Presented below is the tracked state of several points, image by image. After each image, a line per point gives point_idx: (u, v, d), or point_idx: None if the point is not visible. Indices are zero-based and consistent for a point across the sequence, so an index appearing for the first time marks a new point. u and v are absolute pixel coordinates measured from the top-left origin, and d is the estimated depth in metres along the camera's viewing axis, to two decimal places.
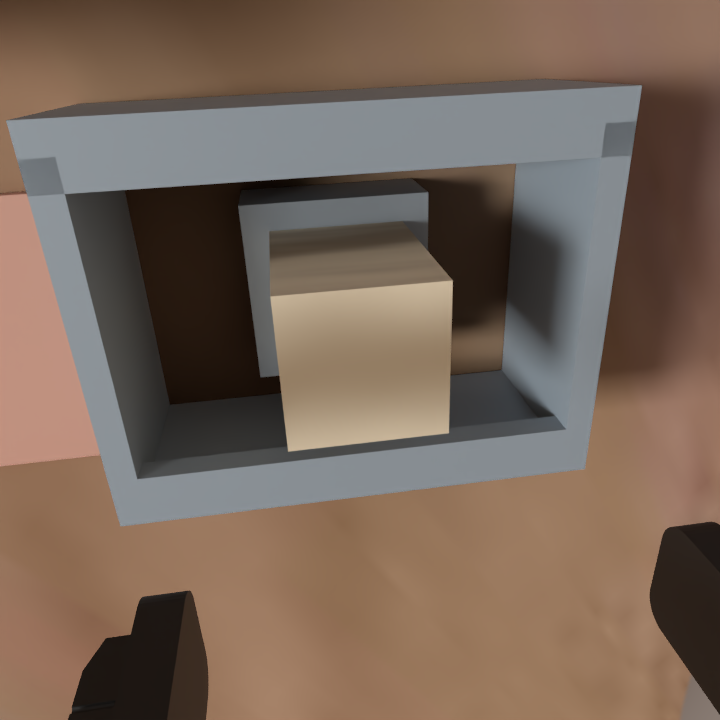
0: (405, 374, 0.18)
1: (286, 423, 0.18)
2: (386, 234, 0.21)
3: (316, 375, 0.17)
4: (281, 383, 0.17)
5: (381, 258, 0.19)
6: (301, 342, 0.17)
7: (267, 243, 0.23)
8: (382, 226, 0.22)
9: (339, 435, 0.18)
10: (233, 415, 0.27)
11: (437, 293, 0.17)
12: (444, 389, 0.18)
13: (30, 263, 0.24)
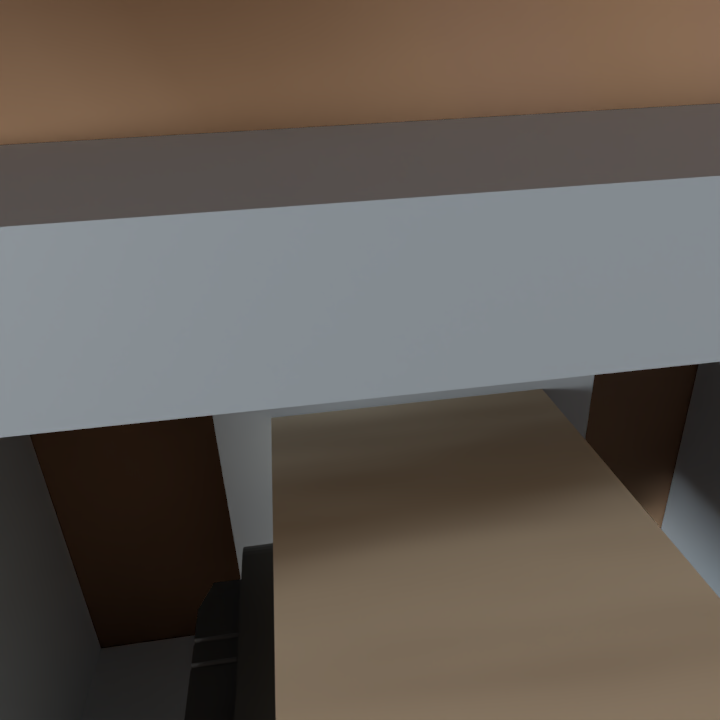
0: None
1: None
2: (529, 443, 0.10)
3: None
4: None
5: (569, 582, 0.07)
6: None
7: (267, 439, 0.11)
8: (508, 409, 0.11)
9: None
10: None
11: None
12: None
13: None
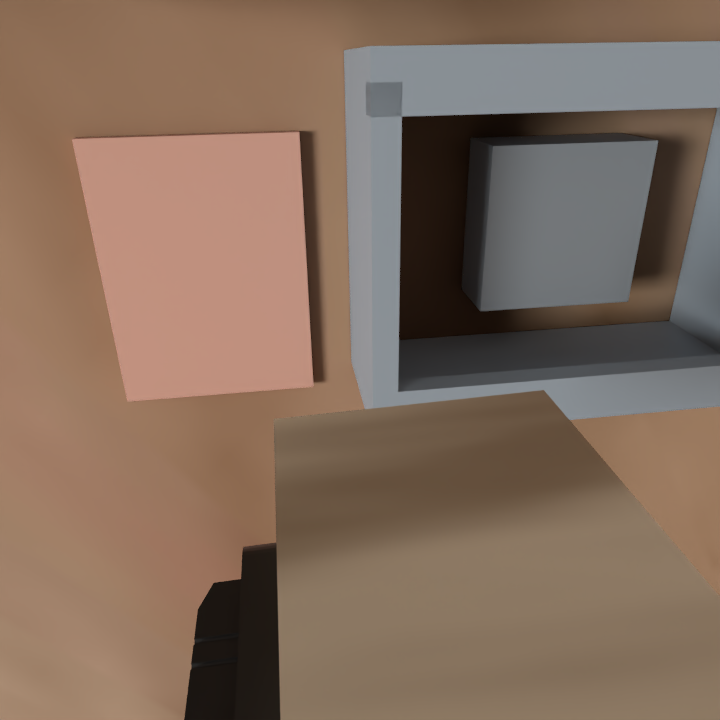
0: None
1: None
2: (531, 444, 0.10)
3: None
4: None
5: (571, 584, 0.07)
6: None
7: (511, 182, 0.25)
8: (510, 410, 0.11)
9: None
10: (437, 351, 0.29)
11: None
12: None
13: (278, 198, 0.26)
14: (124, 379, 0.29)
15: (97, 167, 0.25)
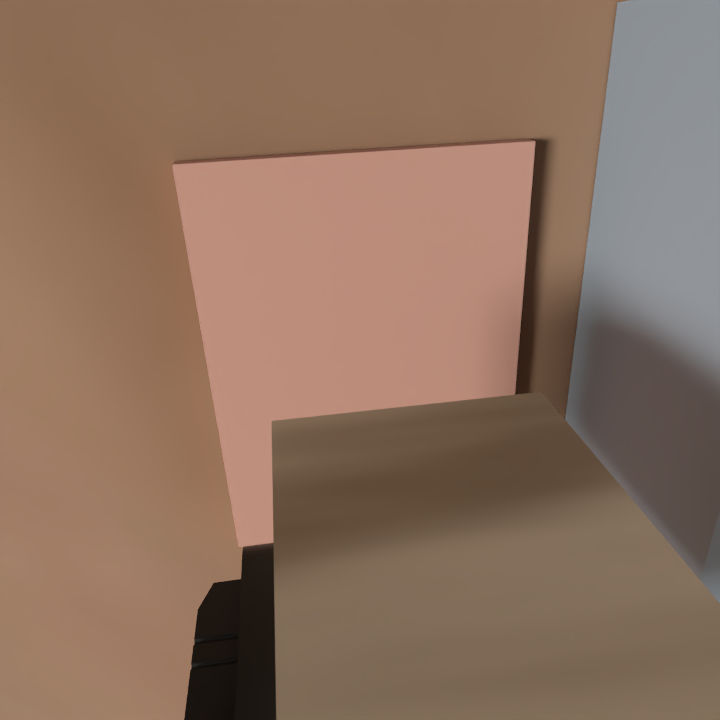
0: None
1: None
2: (529, 447, 0.10)
3: None
4: None
5: (568, 587, 0.07)
6: None
7: None
8: (508, 412, 0.11)
9: None
10: None
11: None
12: None
13: (489, 247, 0.17)
14: (236, 518, 0.19)
15: (211, 209, 0.15)
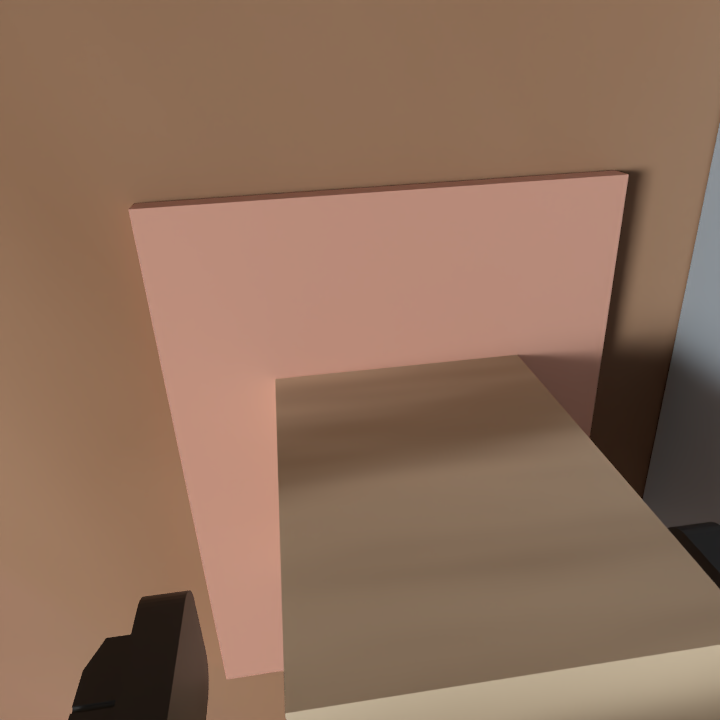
0: None
1: None
2: (503, 397, 0.11)
3: None
4: None
5: (527, 501, 0.09)
6: None
7: None
8: (486, 371, 0.12)
9: None
10: None
11: (716, 665, 0.07)
12: None
13: (559, 313, 0.12)
14: (222, 647, 0.15)
15: (184, 270, 0.11)
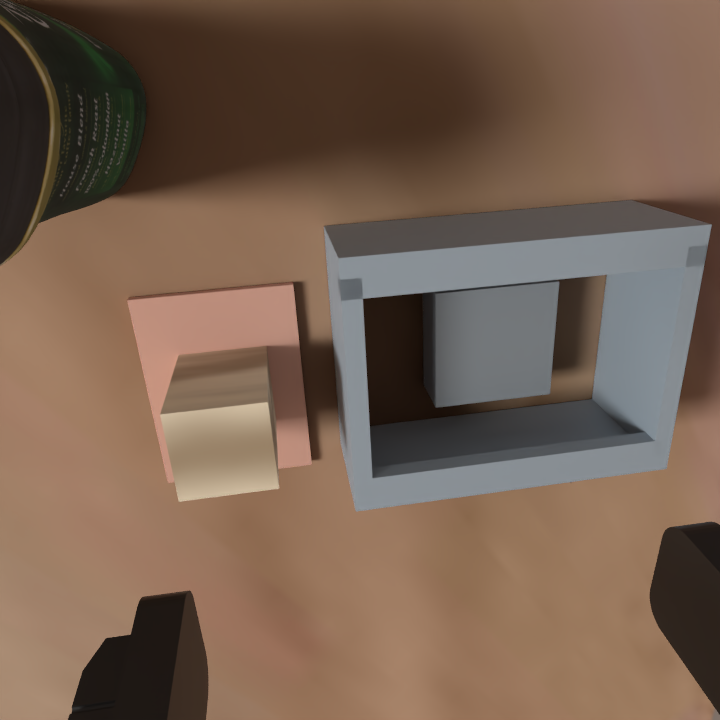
0: (247, 455, 0.30)
1: (176, 485, 0.30)
2: (250, 358, 0.34)
3: (191, 457, 0.30)
4: (171, 462, 0.29)
5: (236, 382, 0.31)
6: (181, 438, 0.29)
7: (451, 317, 0.34)
8: (251, 351, 0.35)
9: (210, 491, 0.31)
10: (406, 435, 0.38)
11: (259, 409, 0.29)
12: (272, 462, 0.30)
13: (279, 330, 0.35)
14: (165, 466, 0.38)
15: (145, 318, 0.34)
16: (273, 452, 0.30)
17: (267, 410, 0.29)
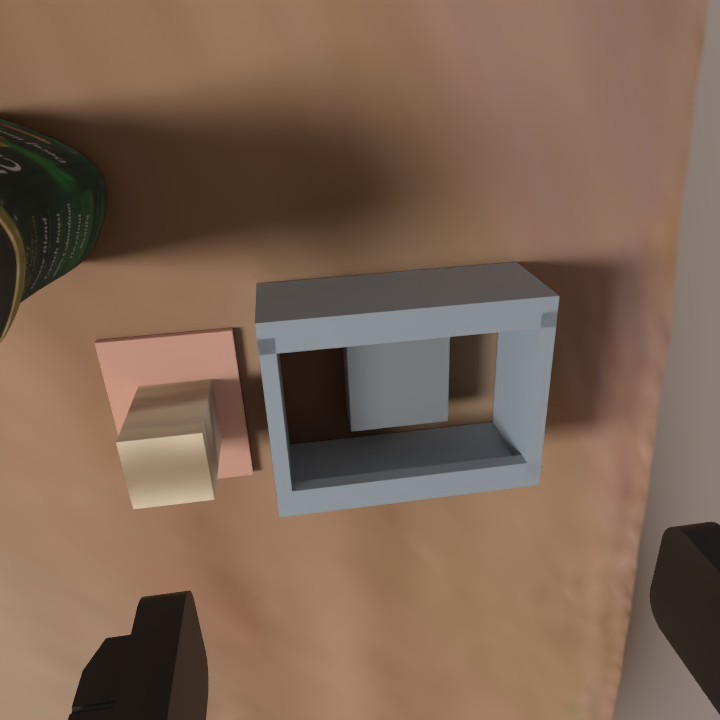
0: (187, 473, 0.38)
1: (130, 496, 0.38)
2: (195, 391, 0.41)
3: (142, 474, 0.37)
4: (126, 478, 0.37)
5: (181, 414, 0.39)
6: (133, 460, 0.37)
7: (360, 360, 0.41)
8: (198, 384, 0.42)
9: (158, 501, 0.38)
10: (330, 452, 0.45)
11: (195, 438, 0.37)
12: (208, 479, 0.38)
13: (221, 367, 0.42)
14: None
15: (109, 357, 0.41)
16: (208, 471, 0.38)
17: (202, 439, 0.37)
